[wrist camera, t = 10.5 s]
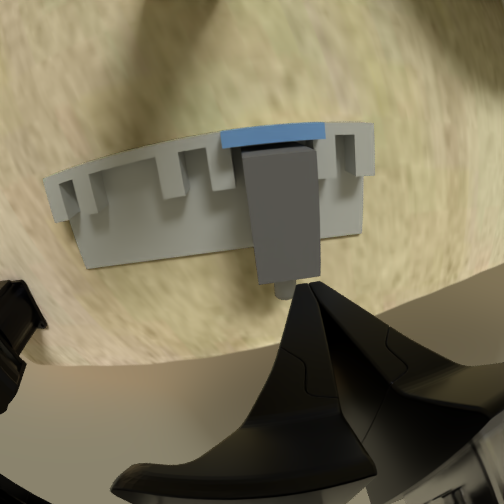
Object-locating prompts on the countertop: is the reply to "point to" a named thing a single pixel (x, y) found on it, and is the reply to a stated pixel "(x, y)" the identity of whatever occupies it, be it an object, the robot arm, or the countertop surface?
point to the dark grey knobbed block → (283, 213)
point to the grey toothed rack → (201, 192)
